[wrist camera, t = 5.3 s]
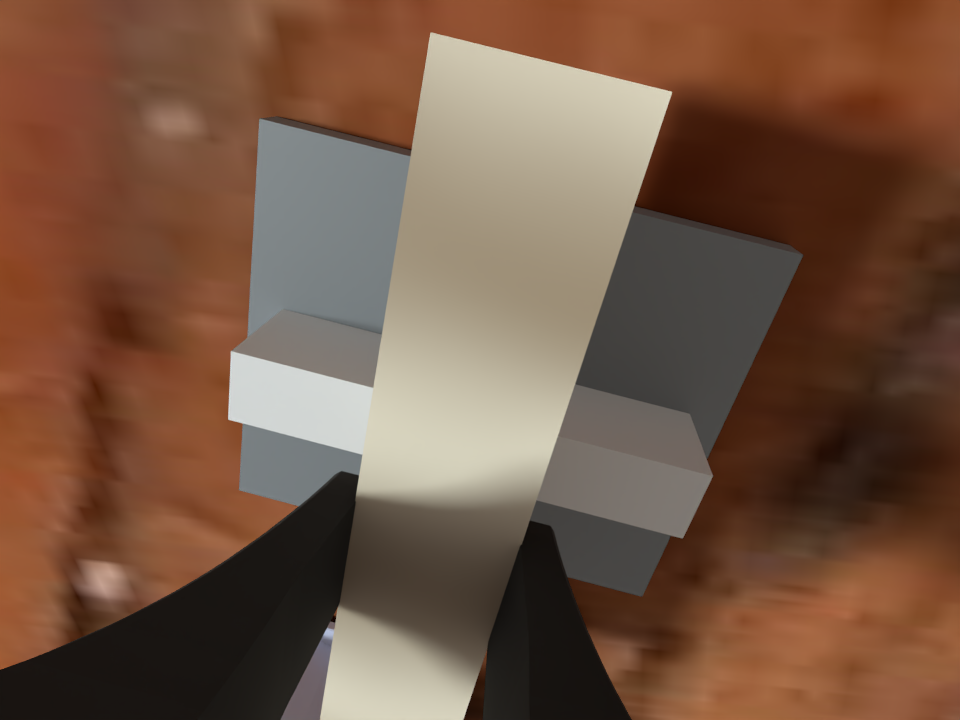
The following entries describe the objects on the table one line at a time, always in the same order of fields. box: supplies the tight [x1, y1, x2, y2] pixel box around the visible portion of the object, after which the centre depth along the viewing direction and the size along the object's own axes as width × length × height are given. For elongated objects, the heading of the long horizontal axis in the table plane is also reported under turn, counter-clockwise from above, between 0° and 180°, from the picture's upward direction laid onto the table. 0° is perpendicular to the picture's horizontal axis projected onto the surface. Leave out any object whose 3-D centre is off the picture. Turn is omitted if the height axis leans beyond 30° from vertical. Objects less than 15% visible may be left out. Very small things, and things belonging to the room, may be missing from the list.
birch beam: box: [320, 33, 672, 720], centre depth 13 cm, size 18×3×4 cm, turn 167°
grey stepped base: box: [228, 116, 803, 597], centre depth 17 cm, size 12×14×4 cm
